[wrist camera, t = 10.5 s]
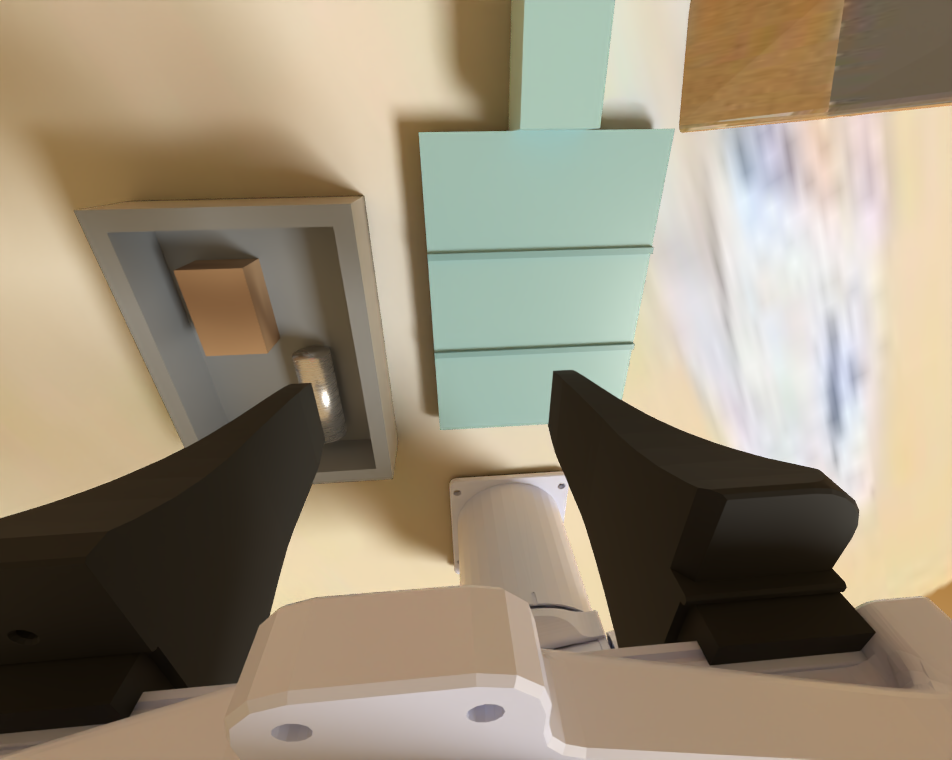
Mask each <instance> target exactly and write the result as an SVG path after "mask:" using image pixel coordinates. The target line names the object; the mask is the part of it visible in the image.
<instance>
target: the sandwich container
mask: <svg viewBox="0 0 952 760" xmlns="http://www.w3.org/2000/svg"><path fill="white" fill-rule="evenodd" d="M950 105H952V0H691V3H690V9H689V18H688V30H687V41H686V53H685V64H684V76H683V87H682V98H681V110H680V121H679V129H680V132H682V133H684V132H694V131H705V130H715V129H725V128H736V127H746V126H756V125H766V124H777V123H787V122H797V121H808V120H818V119H827V118H834V117H841V116H855V115H863V114H870V113H879V112H891V111H902V110H911V109H921V108H931V107H940V106H950Z"/></svg>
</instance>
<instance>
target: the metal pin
mask: <svg viewBox="0 0 952 760" xmlns="http://www.w3.org/2000/svg"><path fill="white" fill-rule="evenodd" d="M292 359H293V362H294V366H295V370H296V374H297V378H298V381H299V383H312V387H313V391H314V395H315V399H316V404H317V408H318V412H319V416H320V420H321V424H322V428H323V432H324V436H325V442H324V444H327V443H333V442H336V441H338V440H340V439H342V438H343V437H344V436H345V435H346V433H347V428H346V423H345V419H344V414H343V409H342V405H341V400H340V395H339V390H338V386H337V381H336V376H335V371H334V367H333V362H332V357H331V353H330V349H329V348H328V347H326V346H308V347H304V348H301V349H299V350H297V351H295V352H294V353H293V354H292Z"/></svg>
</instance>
